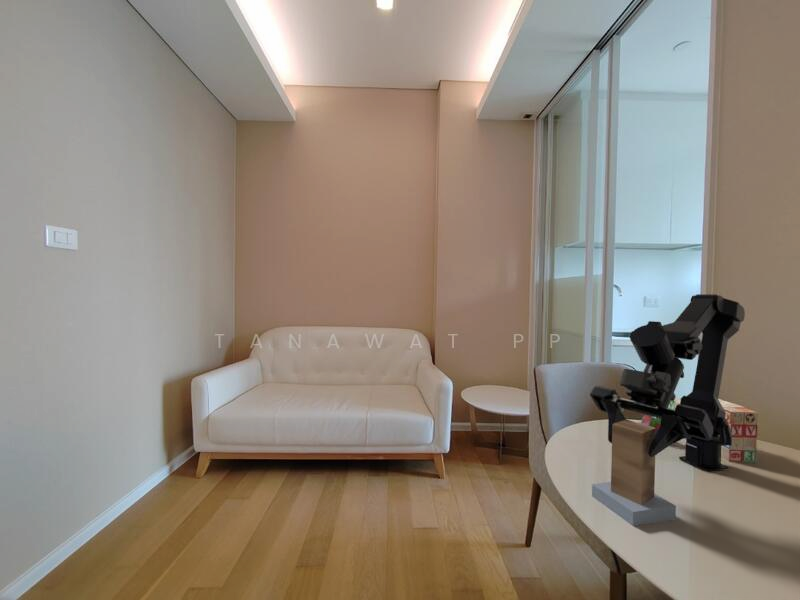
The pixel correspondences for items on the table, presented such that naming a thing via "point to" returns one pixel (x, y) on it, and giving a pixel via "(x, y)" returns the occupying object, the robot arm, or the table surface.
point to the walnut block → (632, 461)
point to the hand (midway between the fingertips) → (629, 448)
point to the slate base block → (634, 506)
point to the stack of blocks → (736, 431)
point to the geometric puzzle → (651, 421)
